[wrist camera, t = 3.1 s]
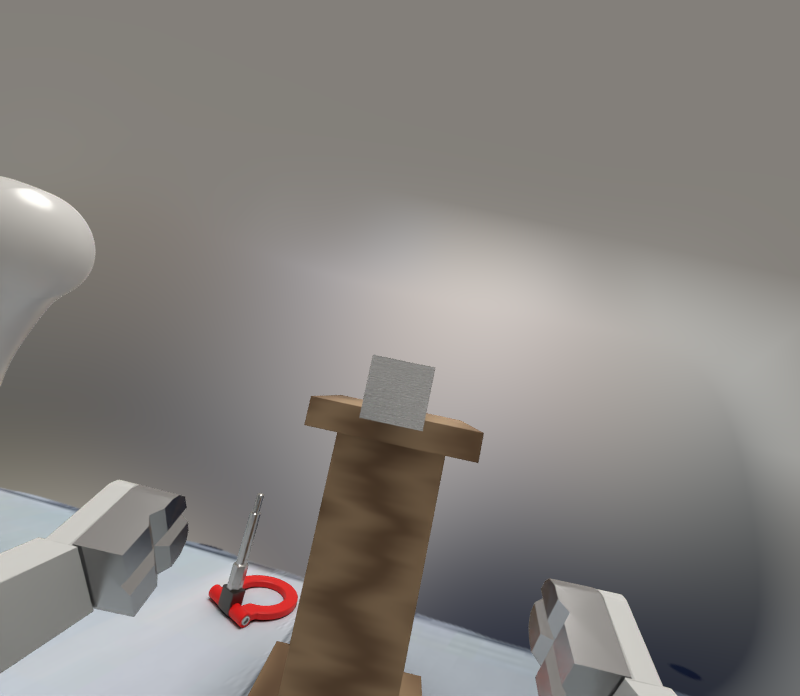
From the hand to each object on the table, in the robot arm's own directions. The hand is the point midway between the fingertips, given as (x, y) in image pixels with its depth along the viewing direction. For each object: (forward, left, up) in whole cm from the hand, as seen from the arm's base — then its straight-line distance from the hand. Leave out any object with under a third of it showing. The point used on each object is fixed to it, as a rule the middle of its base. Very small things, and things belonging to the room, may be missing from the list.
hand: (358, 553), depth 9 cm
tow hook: (-12, +40, -24) cm, 48 cm away
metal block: (0, +20, +2) cm, 20 cm away
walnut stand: (0, +24, -24) cm, 34 cm away
